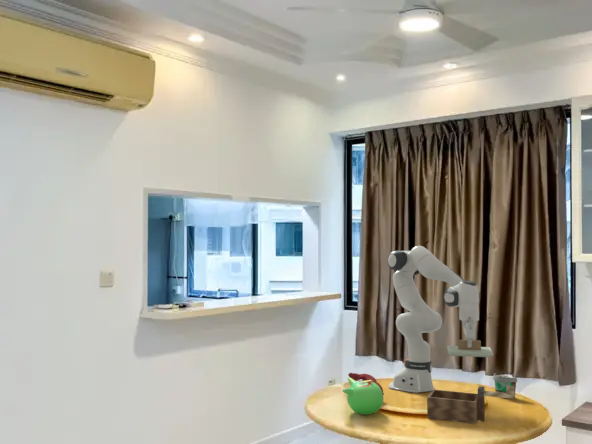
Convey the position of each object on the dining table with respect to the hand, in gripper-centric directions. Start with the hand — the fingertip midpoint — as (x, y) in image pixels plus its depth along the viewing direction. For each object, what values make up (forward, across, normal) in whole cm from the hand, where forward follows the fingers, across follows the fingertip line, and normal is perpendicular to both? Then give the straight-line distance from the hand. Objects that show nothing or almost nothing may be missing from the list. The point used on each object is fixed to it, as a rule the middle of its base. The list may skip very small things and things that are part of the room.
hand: (469, 346), depth 277 cm
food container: (+27, +17, -16) cm, 36 cm away
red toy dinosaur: (+27, +6, +46) cm, 54 cm away
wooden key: (+16, -24, -10) cm, 31 cm away
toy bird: (+27, -24, +46) cm, 58 cm away
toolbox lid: (+2, 0, 0) cm, 3 cm away
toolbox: (+27, -21, +7) cm, 35 cm away
